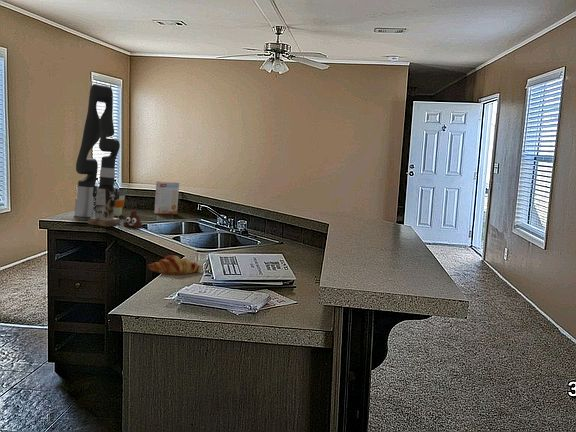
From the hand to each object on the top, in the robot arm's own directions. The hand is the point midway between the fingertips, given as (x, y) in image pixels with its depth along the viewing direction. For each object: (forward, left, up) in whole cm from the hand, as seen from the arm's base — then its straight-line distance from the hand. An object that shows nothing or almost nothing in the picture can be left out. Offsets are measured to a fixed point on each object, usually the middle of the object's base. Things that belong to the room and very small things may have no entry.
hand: (105, 206), depth 319 cm
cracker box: (+6, +69, -10) cm, 70 cm away
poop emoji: (+15, +4, -10) cm, 18 cm away
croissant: (+74, -83, -10) cm, 112 cm away
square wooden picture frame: (0, 0, -10) cm, 10 cm away
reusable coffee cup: (-14, +37, -10) cm, 41 cm away
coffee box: (0, 0, -7) cm, 7 cm away
